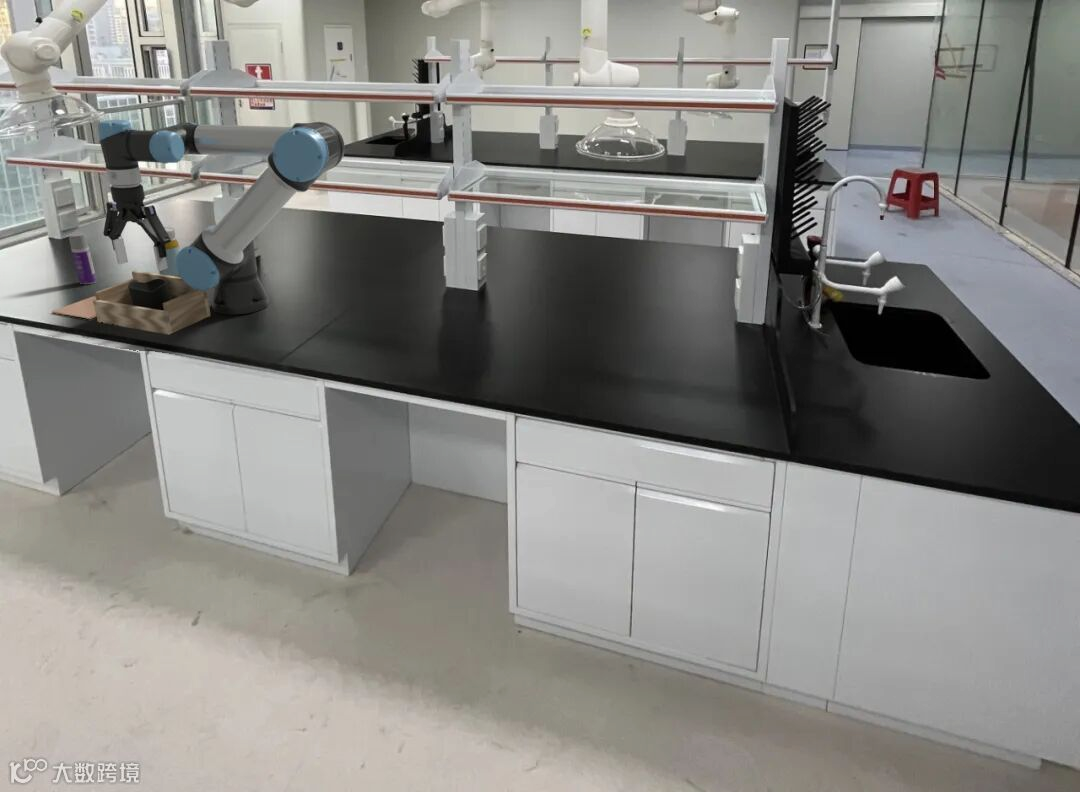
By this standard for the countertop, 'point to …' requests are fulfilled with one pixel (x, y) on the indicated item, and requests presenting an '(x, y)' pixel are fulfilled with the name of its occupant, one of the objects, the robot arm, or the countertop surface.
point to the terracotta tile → (79, 309)
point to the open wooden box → (177, 313)
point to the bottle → (171, 253)
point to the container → (82, 258)
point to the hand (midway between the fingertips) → (142, 266)
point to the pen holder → (149, 293)
